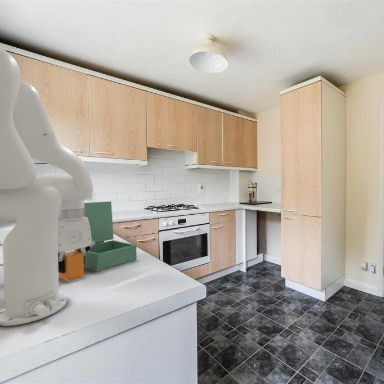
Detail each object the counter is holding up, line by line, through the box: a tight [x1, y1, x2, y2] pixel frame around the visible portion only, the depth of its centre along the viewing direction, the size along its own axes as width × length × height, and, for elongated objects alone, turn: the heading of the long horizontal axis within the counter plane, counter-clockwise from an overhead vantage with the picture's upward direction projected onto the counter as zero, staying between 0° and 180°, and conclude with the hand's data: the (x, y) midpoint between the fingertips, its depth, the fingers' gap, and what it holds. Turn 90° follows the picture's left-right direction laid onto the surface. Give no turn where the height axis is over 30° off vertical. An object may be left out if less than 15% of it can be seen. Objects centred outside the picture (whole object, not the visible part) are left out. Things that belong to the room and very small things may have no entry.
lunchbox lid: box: [84, 200, 115, 243], centre depth 94 cm, size 16×15×4 cm
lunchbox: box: [75, 239, 137, 272], centre depth 90 cm, size 16×15×7 cm
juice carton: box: [58, 250, 85, 282], centre depth 76 cm, size 6×4×8 cm
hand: (71, 269), depth 76 cm, fingers closed on juice carton, 4 cm apart
